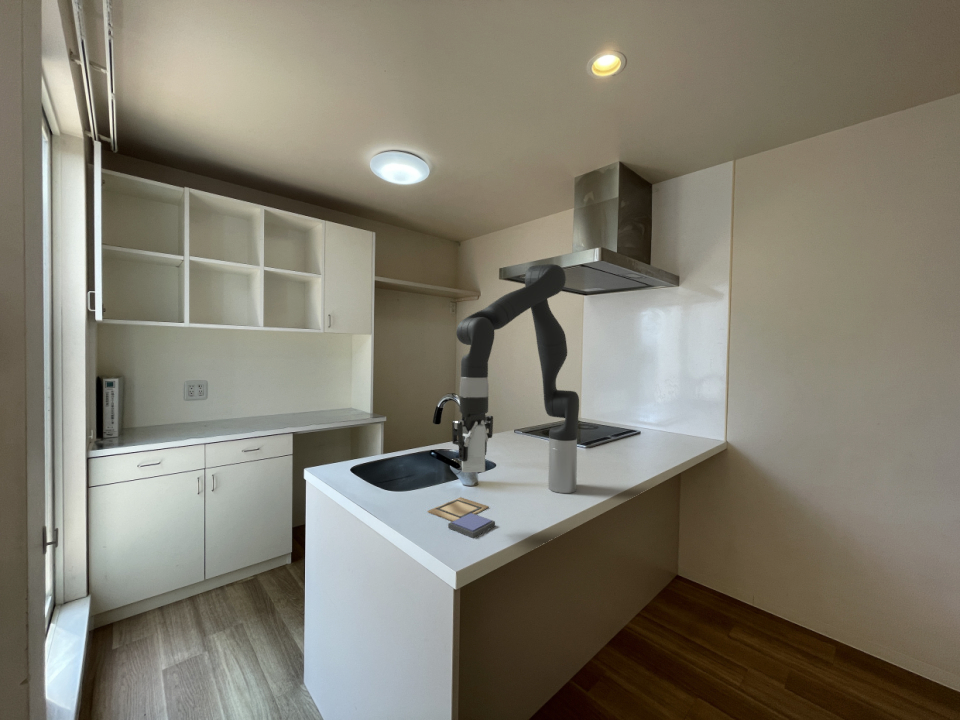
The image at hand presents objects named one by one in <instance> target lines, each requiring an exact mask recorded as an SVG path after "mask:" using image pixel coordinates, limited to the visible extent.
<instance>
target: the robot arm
mask: <svg viewBox="0 0 960 720" xmlns="http://www.w3.org/2000/svg"><path fill="white" fill-rule="evenodd" d="M566 278H567V277H566V273H565V271H564V269H563V267H562V266H561V265H558V264H554V263H549V264H548V263H547V264H537V265H530V266H529V267H528V268H527V270H526V272H525V276H524V287H522V288H519V289H516V290H514V291H510V292H509V293H506V294H504V295H502V296H500V297H498V299H496V300H495V301H493V302H492V303H490V304H489V305H488V306H487V307H485V308H483V309H481V310H479V311H477V312H474V313H473V314H470V315H469V316H467V317H464V319H462V320H461V321H460V322H459V324H458V325H457V327H456V337H457V340H458V341H459V342H460V343H461V344H463V345H466V346H470V347H469V352H468V353H466V354H465V355H463V356H462V358H461V361H460V383H459V405H458V406H459V409H458V411H459V413H460V414H461V418H460V420H452V422H451V423H452V424H451V425H452V426H451V427H452V428H451V429H452V430H451V431H452V433H451V435H452V437H451V439H452V444H453V445H456V446H458V459H459V461H461V462H462V461H464V462H465V461H467V460H468V447H467V445H468V442H469V440H470V439H471V438H472V436H473V433H474V431H475V429H476V427H477V425H478V424H480V425H485V456H486V455H487V451H488V450H487V447H488V445H487V444H488V441H489V439H492V438H493V431H494V429H493V428H494V427H493V426H494V416H492V415H487V413H488V412H489V391H490V390H489V379H488V377H489V359H490V357H491V352H492V348H493V345H494V340H495V331H496V330H500V329H502V328H503V327H505V326H507V325H508V324H509V323H510V322H512V321H513V320H514V319H516V318H517V317H519V316H521V315H522V314H523V313H524V312H526V311H528V310H529V309H530V311H531V315H532V320H533V324H534V331H535V338H536V346H537V352H538V357H539V363H540V369H541V377H542V391H543V405H544V409H545V412H546V414H547V416H549V417H553V418H559V419H560V418H561V419H564V423H563V424H560V425H559V426H555V427H551V428H550V429H549V431H548V479H547V480H548V485H547V486H548V489H549V490H550V491H551V492H555V493H560V494H570V493H571V494H572V493H575V492H576V491H577V484H578V483H577V476H578V475H577V474H578V473H577V471H578V470H577V469H578V467H577V466H578V459H577V458H578V454H577V453H578V430H579V429H578V428H579V415H580V414H579V413H580V412H579V411H580V397H579V395H578V393H577V392H576V391H575V390H561V389H557V377H558V374H559V373H560V371H561V369H562V367H563V365H564V363H565V362H566V359H567V357H568V346H567V338H566V334H565V330H564V328H563V327H562V326H561V324H560V323H559V321H558V319H557V318H556V317H555V316H554V314H553V312H552V310H551V308H550V305H549V301H548V300H549V298H552V297H554V296H556V295H559V293H561V292H562V290H564V288H565V285H566ZM464 426H466V429H467V431H468V432H469V433H468V434H464V433H463V428H464ZM463 437H465V440H464V441H463Z"/></svg>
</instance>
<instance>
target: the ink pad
mask: <svg viewBox="0 0 960 720" xmlns="http://www.w3.org/2000/svg"><path fill="white" fill-rule="evenodd" d="M447 526H448V527H447V528H448V529H450V530H452V531H454V532H456V533H459V534H462V535H464V536H466V537H469V538H472V539H475V538H476V537H477V536H480V535H482V534H483V533H484V532H487V531H488V530H490V529H493V528H494V527H496V521H495V520H492V519H490V518H486V517H484V516H480V515H478V514H473V513H469V514H467V515H465V516H463V517H461V518H459V519H457V520H455V521H453V522H452V521H450V522H448V523H447Z"/></svg>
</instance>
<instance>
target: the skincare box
mask: <svg viewBox="0 0 960 720" xmlns="http://www.w3.org/2000/svg"><path fill="white" fill-rule="evenodd" d="M463 433H464V434H468V433H469V432H468V431H467V429H466V426H464V428H463ZM464 440H465V437H463V441H464ZM467 447H468V460H467V461H465V462H464V461H461V472H462V473H485V472H486V455H485V425H480V424H478V425H477V427H476V429H475V431H474V433H473V436H472V438H471V439H470V440H469V442H468V445H467Z"/></svg>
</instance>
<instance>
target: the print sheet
mask: <svg viewBox="0 0 960 720" xmlns="http://www.w3.org/2000/svg"><path fill="white" fill-rule="evenodd" d="M489 508H490V507H489V505H487V504H483V503H480V502H477V501H473V500H470V499H467V498H465V497H461V496H460V497H457V498H455V499H453V500H451V501H448V502H446V503H443V504H441V505H438V506H436V507H434V508H431V509H429V510H427V513H429V514H432V515H433V516H437V517H439V518H442V519H444V520H446V521H448V522H449V521H450V522H453V521H455V520H457V519H459V518H461V517H463V516H465V515H467V514H469V513H473V514H476V515H478V514H479V513H481V512H483V511H485V510H488V509H489Z"/></svg>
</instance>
